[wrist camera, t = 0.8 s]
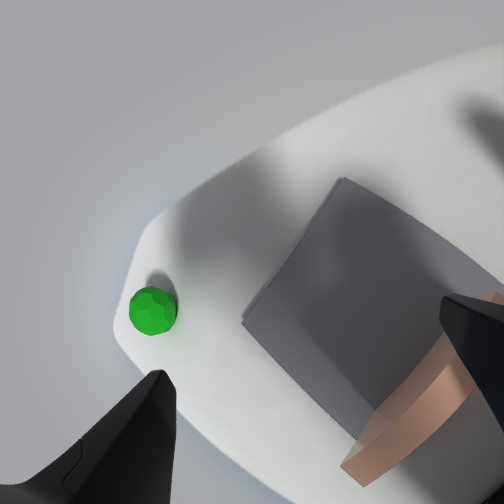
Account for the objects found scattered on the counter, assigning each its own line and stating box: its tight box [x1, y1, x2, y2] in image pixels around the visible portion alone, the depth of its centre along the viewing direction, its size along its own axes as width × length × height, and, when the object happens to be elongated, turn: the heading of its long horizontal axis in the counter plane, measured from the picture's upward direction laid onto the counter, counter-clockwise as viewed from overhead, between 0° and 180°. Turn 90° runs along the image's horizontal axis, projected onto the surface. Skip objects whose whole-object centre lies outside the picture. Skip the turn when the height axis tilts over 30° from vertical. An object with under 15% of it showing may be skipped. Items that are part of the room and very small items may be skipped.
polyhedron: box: [129, 286, 176, 336], centre depth 26 cm, size 5×5×5 cm
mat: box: [241, 177, 504, 440], centre depth 17 cm, size 16×14×1 cm
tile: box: [340, 291, 504, 487], centre depth 10 cm, size 2×9×8 cm, turn 138°
